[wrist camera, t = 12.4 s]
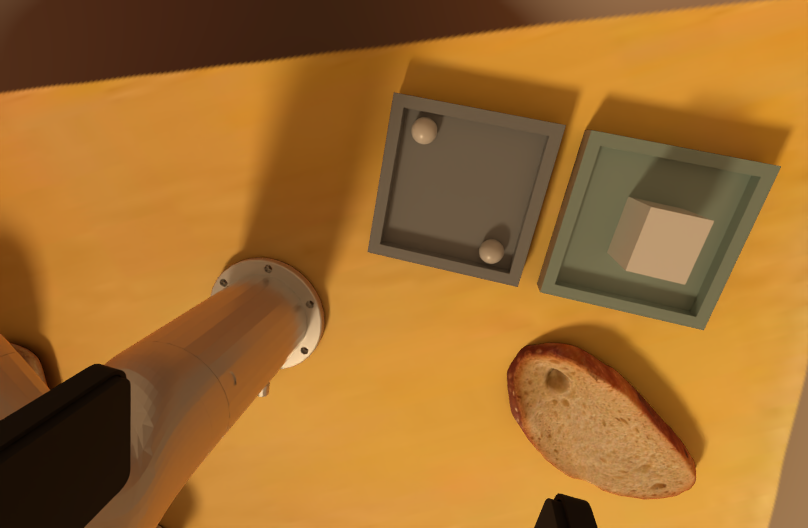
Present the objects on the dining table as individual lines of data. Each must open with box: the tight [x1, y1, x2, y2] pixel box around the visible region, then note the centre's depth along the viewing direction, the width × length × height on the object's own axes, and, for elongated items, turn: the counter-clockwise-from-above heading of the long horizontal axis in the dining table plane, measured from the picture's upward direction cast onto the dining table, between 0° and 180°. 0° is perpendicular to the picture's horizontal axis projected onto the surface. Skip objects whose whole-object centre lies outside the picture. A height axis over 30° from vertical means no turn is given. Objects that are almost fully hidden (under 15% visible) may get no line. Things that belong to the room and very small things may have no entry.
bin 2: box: [537, 130, 781, 330], centre depth 36 cm, size 14×14×2 cm
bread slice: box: [507, 343, 696, 499], centre depth 41 cm, size 18×18×4 cm
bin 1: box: [368, 92, 566, 287], centre depth 37 cm, size 14×14×3 cm
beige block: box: [607, 197, 714, 285], centre depth 33 cm, size 5×4×5 cm
